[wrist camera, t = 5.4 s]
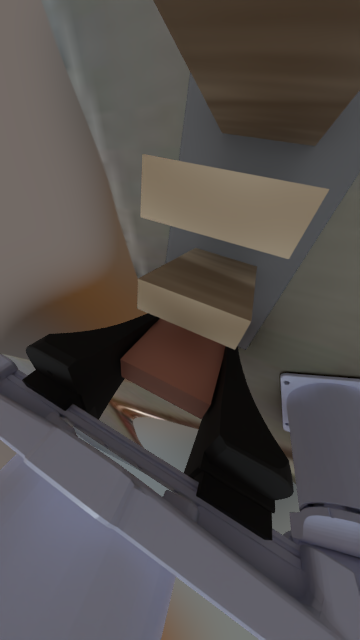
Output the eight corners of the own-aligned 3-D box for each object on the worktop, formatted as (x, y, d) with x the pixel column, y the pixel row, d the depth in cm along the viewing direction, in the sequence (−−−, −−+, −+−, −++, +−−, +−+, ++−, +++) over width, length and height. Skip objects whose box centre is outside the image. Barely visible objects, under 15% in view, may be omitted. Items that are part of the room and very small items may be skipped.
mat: (246, 347, 17) (245, 349, 16) (160, 312, 19) (159, 313, 19) (695, -362, 3) (727, -404, 3) (230, -213, 6) (229, -231, 5)
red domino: (226, 331, 15) (201, 419, 8) (176, 311, 16) (121, 376, 10) (233, 318, 14) (210, 405, 8) (179, 297, 15) (120, 359, 9)
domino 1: (315, 146, 8) (456, -31, 2) (222, 133, 9) (146, -13, 3) (338, 96, 7) (702, -455, 1) (232, 87, 8) (152, -237, 2)
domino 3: (247, 285, 13) (235, 349, 7) (191, 266, 14) (137, 308, 8) (257, 266, 12) (251, 321, 6) (195, 247, 13) (138, 278, 7)
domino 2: (273, 232, 11) (288, 259, 5) (203, 214, 12) (140, 217, 6) (287, 203, 10) (329, 189, 4) (210, 186, 11) (142, 154, 5)
